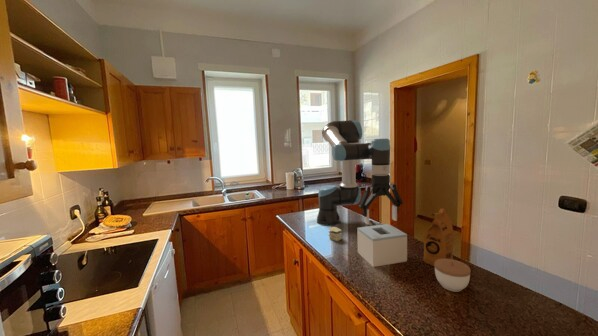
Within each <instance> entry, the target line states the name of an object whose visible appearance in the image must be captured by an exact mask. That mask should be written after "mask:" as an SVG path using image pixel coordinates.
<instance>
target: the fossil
mask: <svg viewBox="0 0 598 336" xmlns="http://www.w3.org/2000/svg"><path fill="white" fill-rule="evenodd" d="M375 225H377V224H376V223H375V221H373V220H371V219H369V224H368V225H367V224H366V223H365V225H364V227H367V226H375Z"/></svg>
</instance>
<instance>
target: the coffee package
mask: <svg viewBox="0 0 598 336" xmlns="http://www.w3.org/2000/svg"><path fill="white" fill-rule="evenodd" d="M430 216H431V217H433V218H434V219H433V220H432V223H431V225H430V226H429V227H428V228H427V230H426V231H425V234H424V237H423V262H424V263H425V264H427V265H430V266H431V267H432V266H433V267H435V265H434V263H435V261H436V260H438V259H453V260H454V230H453V229H454V228H453V227H454V226H453V223H452V220H451V219H450V217H449V216H448V214H447V211H446V210H445V208H440V209H439V211H438V212H433V213H432V214H430Z"/></svg>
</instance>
